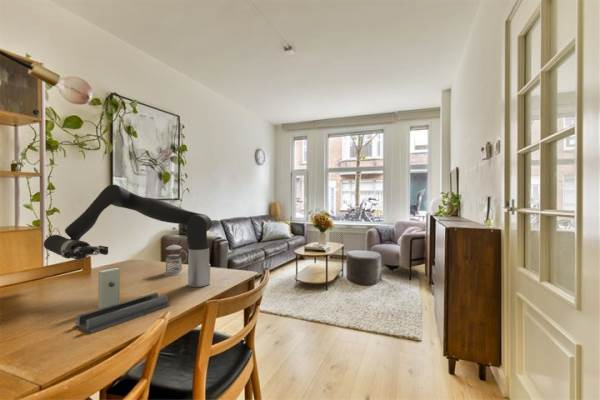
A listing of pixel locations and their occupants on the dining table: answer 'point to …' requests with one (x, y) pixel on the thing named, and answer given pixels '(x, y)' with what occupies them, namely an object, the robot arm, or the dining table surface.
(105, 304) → the door panel
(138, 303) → the track
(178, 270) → the french press
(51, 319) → the dining table surface
